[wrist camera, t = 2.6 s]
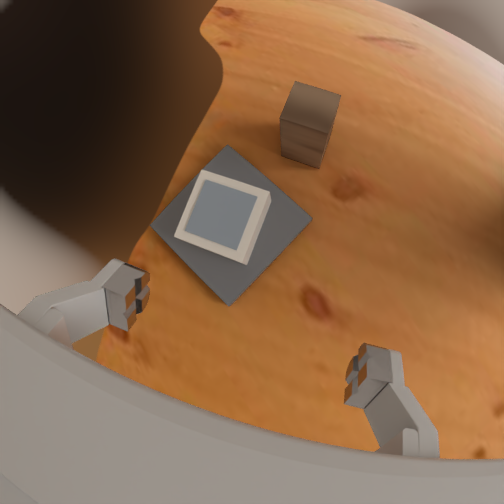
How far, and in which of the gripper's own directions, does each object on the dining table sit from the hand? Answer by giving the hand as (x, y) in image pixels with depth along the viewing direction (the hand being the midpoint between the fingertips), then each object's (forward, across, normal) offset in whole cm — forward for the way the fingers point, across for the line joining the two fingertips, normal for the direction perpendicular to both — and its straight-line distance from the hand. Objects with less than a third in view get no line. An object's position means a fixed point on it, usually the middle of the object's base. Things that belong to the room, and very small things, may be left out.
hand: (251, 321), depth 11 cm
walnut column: (+33, +1, +1) cm, 33 cm away
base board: (+26, +7, +12) cm, 29 cm away
